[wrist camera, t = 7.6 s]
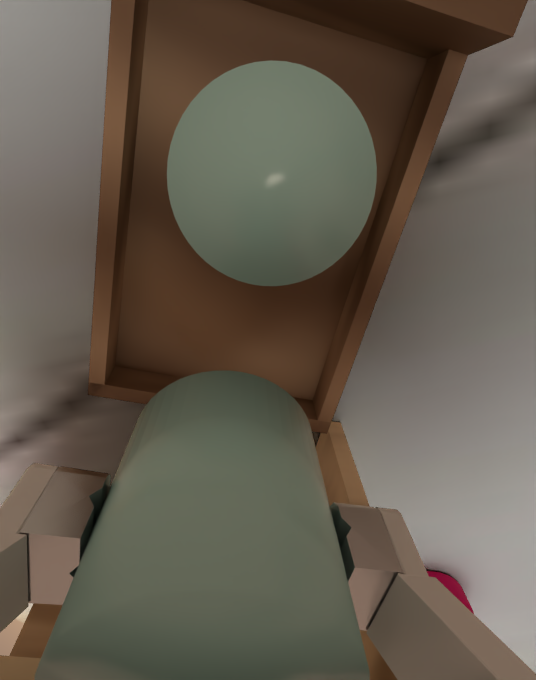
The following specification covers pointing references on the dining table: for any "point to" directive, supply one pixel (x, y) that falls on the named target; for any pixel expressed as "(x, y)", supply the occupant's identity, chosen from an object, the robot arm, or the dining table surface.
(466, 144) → the dining table surface
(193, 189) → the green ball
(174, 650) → the pale green rounded cylinder
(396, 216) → the tray
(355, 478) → the counter cubby
